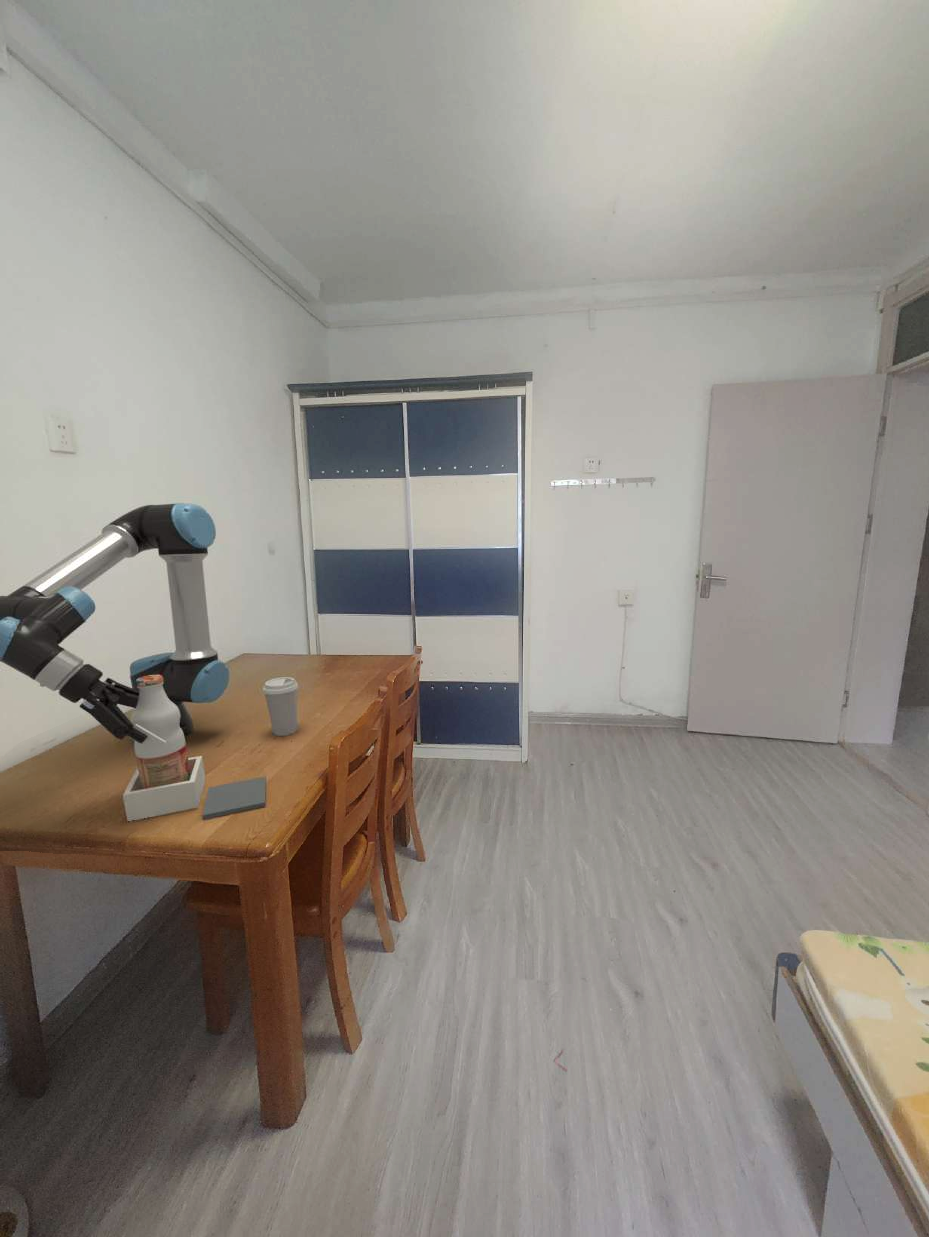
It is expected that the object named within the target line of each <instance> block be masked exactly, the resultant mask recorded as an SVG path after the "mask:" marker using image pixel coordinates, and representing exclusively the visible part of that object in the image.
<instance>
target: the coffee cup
mask: <svg viewBox="0 0 929 1237" xmlns="http://www.w3.org/2000/svg"><path fill="white" fill-rule="evenodd" d="M298 688H299V684H298V683H297V681H296V680H295V678H293V677H289V676H287V677H285V676H284V677H282V676H281V677H276V678H271V679H269V680H267V681H265V683H264V686H263V687H262V693H263V694H264V696H265V701H266V706H267V709H268V713H269V714H268V715H269V717H270V718H269V719H270V723H271V728H272V732H273V735H274V736H277V737H285V736H286V737H287V736H291V735H293V734H295V733H297V731H298ZM290 734H291V735H290Z"/></svg>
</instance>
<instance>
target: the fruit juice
mask: <svg viewBox="0 0 929 1237" xmlns="http://www.w3.org/2000/svg"><path fill="white" fill-rule="evenodd" d="M163 681H164V679H163V676H162V675H148V676H144V677H141V678H138V679H137V680H136V685H137V688H139V698H138V703H137V706H136V708H134V709H133V711H132V714H131V716H130V722H131V723H132V724H133V725H134V726H135V725H136V724H138V725H139V726H141V727H143V728H144V729H146V730H148V731H149V732H151V733H153V734H155V735H156V736H158V737H160V738H161V739H163V740H165V741H166V742H165V744H164V745H163V746H162V747H161V748H160V749H159V750H158V751H157V753H155V752H153V751H151V750H150V749H148V748H146V747H144V746H143V745H141V744H139V743H137V742H136V741H134V740H133V742H134V743H133V748H134V755H135V760H136V764H137V765H136V766H137V768H138V772H139V777H140V783H141V789H147V788H152V787H158V786H163V785H169V784H174V783H179V782H185V781H190V778H191V775H190V769H189V762H188V758H189V756H188V750H187V746H186V744H187V743H186V738H185V735H184V733H183V731H182V729H181V728H180V725H179V723H180V711H179V708H178V707H177V706H176V705H175V704H174V703H173V702H172V701H170V699H169V698H168V697H167V695H166V693H165V691H164V689H163V683H164V682H163Z"/></svg>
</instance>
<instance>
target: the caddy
mask: <svg viewBox="0 0 929 1237" xmlns="http://www.w3.org/2000/svg"><path fill="white" fill-rule="evenodd" d="M188 762H189V769H190V775H191V778H190V781H185V782H179V783H174V784H169V785H163V786H158V787H152V788H147V789H141V783H140V777H139V772H138V767H137V768H136V770H135V772H134V774H133V776H132V778H131V779H130V781H129V783H128V785H127V786H126V789H125V791H124V792H123V794H122V797H123V798H122V799H123V804H124V810H125V815H126V820H127V822H128V821H130V822H133V821H132V820H135V821H139V820H144V818H145V819H148V817H149V818H152V817H153V818H155V817H158V816H163V815H169V814H173V813H179V812H182V811H183V812H184V811H187V810H188V811H189V810H194V809H198V808H199V806H200V803H201V802H200V801H201V798H202V794H203V791H204V787H205V784H206V782H205V781H206V772H205V766H204V760H203V756H202V755H200V756H194V757H193V756H192V757H188Z"/></svg>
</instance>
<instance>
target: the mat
mask: <svg viewBox="0 0 929 1237" xmlns="http://www.w3.org/2000/svg"><path fill="white" fill-rule="evenodd" d="M266 798H267V777H266V775H265V776H261V777H256V778H250V779H245V780H239V781H235V782H231V783H230V782H229V783H225V784H219V785H213V786H209V787H208V789H207V793H206V797H205V802H204V806H203V810H202V814H201V816H202V821H203V820H209V819H212V818H218V817H223V816H227V815H233V814H236V813H241V812H246V811H252V810H256V809H261V808H265V807H266V803H267V802H266V801H267V800H266Z"/></svg>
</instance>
